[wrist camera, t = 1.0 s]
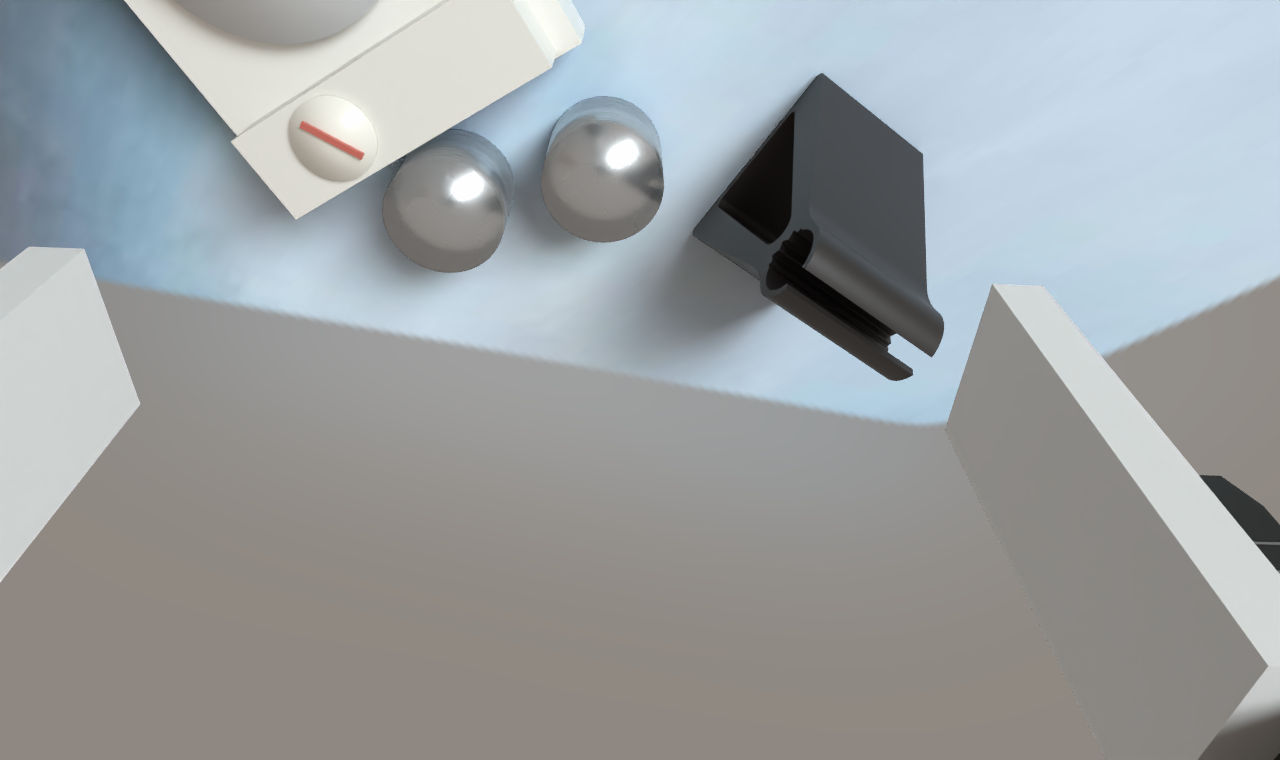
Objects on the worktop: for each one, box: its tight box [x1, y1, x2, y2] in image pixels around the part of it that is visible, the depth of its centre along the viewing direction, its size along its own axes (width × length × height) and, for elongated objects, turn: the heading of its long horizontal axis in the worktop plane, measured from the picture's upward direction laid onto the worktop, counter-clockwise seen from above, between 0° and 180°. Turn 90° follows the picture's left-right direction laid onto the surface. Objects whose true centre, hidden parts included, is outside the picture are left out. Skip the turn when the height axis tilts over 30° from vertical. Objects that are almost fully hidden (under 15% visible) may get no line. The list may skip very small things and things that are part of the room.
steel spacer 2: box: [541, 96, 664, 242], centre depth 36 cm, size 5×5×4 cm
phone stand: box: [693, 73, 944, 381], centre depth 34 cm, size 9×6×12 cm, turn 144°
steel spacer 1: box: [382, 129, 515, 273], centre depth 37 cm, size 5×5×4 cm
